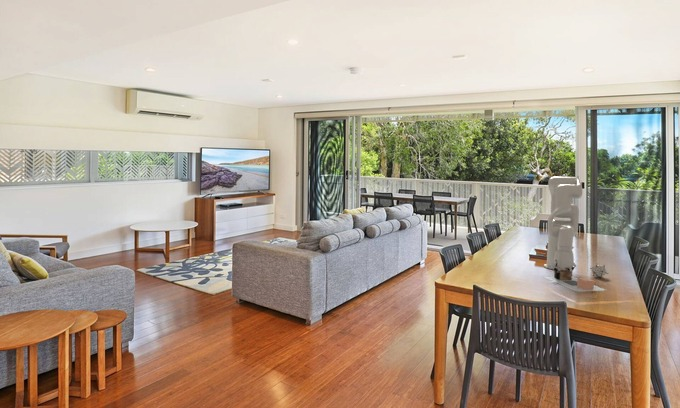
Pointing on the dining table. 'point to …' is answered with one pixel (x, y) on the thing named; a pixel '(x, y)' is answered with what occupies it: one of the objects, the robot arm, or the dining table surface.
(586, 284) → the terracotta block
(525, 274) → the dining table surface
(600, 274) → the grey spiky ball
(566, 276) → the walnut block
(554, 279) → the blueprint board
